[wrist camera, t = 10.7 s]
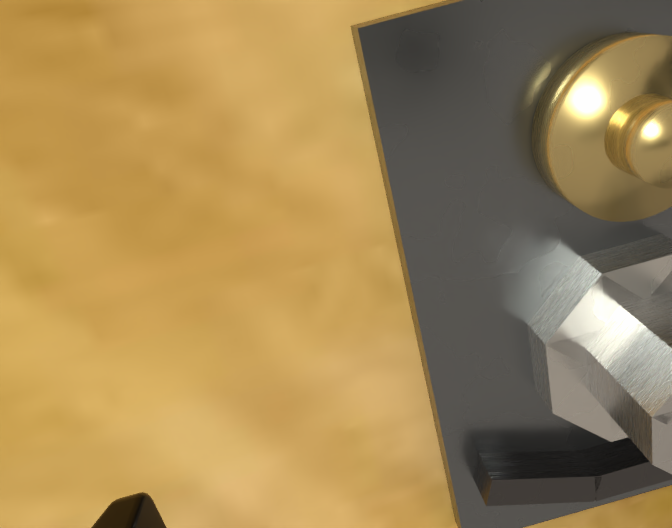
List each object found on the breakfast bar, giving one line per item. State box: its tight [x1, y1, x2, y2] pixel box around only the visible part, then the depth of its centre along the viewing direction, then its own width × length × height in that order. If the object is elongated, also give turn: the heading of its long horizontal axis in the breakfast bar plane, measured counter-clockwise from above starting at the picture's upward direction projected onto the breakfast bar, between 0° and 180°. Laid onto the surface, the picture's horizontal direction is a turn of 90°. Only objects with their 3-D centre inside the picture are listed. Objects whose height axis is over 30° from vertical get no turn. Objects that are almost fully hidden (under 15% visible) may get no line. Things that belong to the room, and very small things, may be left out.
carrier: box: [351, 0, 672, 528], centre depth 20 cm, size 14×20×4 cm
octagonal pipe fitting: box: [527, 234, 672, 474], centre depth 19 cm, size 7×7×5 cm
